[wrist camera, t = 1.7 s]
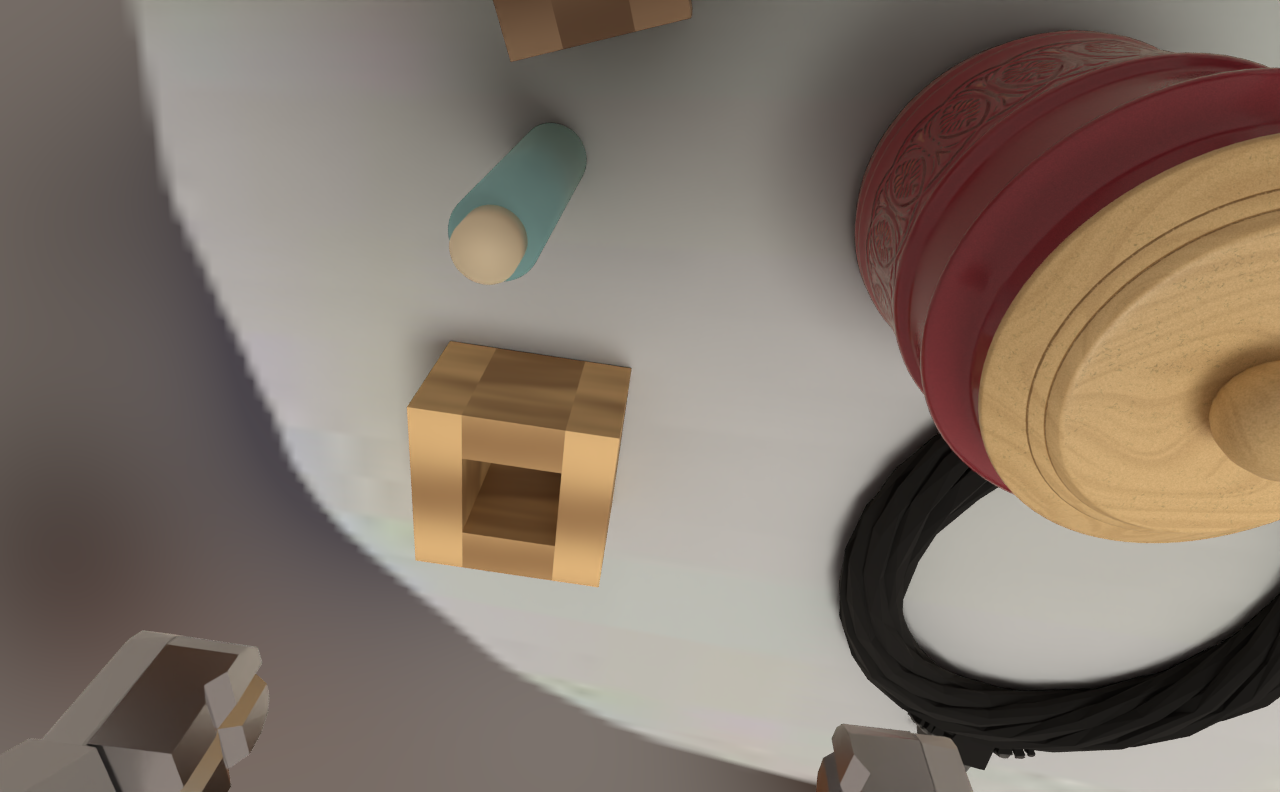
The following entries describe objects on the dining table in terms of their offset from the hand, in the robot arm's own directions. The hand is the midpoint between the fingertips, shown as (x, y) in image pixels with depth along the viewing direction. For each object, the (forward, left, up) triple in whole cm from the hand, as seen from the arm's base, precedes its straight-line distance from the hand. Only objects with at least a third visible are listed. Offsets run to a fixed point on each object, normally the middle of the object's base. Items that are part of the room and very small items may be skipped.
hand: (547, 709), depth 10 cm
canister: (-2, +15, -24) cm, 28 cm away
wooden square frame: (+13, -4, -24) cm, 27 cm away
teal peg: (-1, -4, -24) cm, 24 cm away
